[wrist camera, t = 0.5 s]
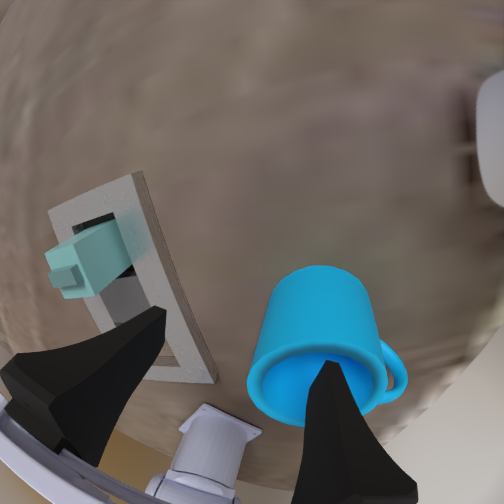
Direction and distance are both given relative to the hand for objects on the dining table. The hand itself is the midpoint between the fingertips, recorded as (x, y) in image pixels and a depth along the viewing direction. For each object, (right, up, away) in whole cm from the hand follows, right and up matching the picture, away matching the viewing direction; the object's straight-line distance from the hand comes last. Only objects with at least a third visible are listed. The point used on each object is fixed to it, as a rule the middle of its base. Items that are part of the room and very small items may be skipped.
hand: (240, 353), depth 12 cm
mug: (+7, -1, +10) cm, 13 cm away
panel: (-11, +1, +13) cm, 17 cm away
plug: (-12, +5, +11) cm, 17 cm away
